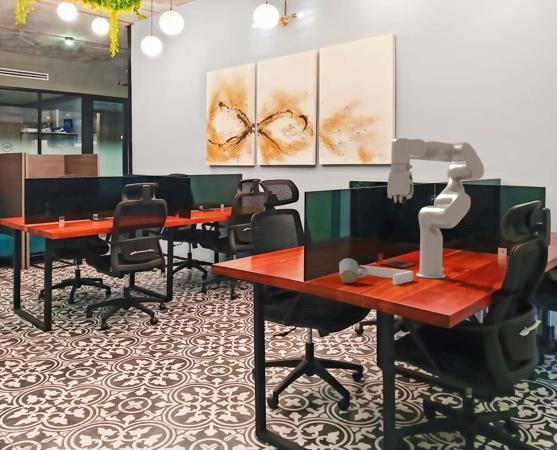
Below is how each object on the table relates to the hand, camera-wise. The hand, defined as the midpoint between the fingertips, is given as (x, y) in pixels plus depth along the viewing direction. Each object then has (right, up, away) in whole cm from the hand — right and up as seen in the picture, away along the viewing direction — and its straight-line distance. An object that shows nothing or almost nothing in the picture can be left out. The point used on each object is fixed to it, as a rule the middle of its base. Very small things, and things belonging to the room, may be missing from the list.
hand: (399, 212), depth 213 cm
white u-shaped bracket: (-8, -29, +6) cm, 31 cm away
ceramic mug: (-20, -29, -4) cm, 36 cm away
